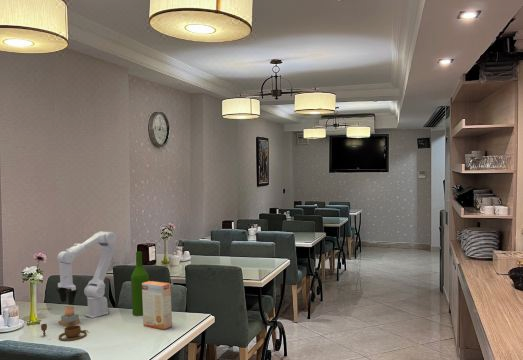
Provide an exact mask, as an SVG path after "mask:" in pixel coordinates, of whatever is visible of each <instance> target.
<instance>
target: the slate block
mask: <svg viewBox="0 0 523 360" xmlns="http://www.w3.org/2000/svg"><path fill="white" fill-rule="evenodd" d="M79 316H80V315H79V314H78V313H76V312H74V315H73V316H65V314H62V315H61V316H60V319H61V320H60V321H64V322H67V323H69V322H72V321H76V320H80V317H79Z"/></svg>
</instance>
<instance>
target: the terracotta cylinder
mask: <svg viewBox="0 0 523 360" xmlns="http://www.w3.org/2000/svg"><path fill="white" fill-rule="evenodd" d="M74 313H75V306H74V305H67V306H65V307H64V315H65V316H73V315H74Z"/></svg>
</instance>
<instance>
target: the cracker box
mask: <svg viewBox="0 0 523 360" xmlns="http://www.w3.org/2000/svg"><path fill="white" fill-rule="evenodd" d="M171 291H172V290H171V283H170V282H162V281H154V280H152V281H151V280H149V281H148V282H144V283H142V299H143V316H142V317H143V318H142V319H143V321H142V322H143V324H142V325H143V326H144V327H147V328H149V327H150V328H153V329H159V330H162V331H163V330H167V329H169V328H172V327H173V318H172V317H173V315H172V296H171V295H172V292H171Z"/></svg>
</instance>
